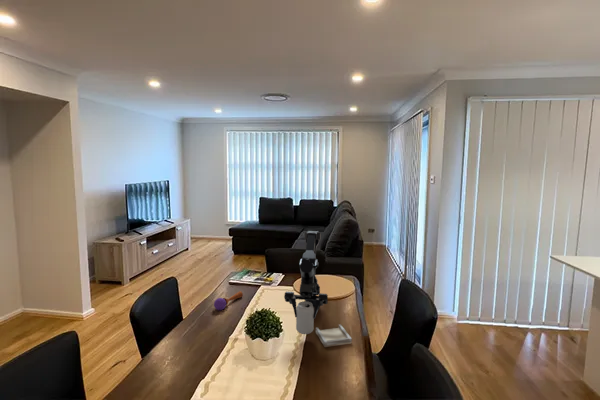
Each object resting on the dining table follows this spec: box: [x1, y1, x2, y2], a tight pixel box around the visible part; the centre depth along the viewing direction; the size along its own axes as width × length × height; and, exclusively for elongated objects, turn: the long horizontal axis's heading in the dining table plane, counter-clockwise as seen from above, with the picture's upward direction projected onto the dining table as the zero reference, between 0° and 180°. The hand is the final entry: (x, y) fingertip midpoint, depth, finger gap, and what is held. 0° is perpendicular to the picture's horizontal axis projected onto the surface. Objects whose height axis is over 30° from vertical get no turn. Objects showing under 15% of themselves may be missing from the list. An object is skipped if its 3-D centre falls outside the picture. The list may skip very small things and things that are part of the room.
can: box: [295, 300, 315, 335], centre depth 137 cm, size 8×8×12 cm
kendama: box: [213, 290, 244, 311], centre depth 171 cm, size 6×6×20 cm
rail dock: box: [315, 323, 353, 348], centre depth 140 cm, size 12×12×2 cm
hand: (304, 317), depth 136 cm, fingers closed on can, 7 cm apart
